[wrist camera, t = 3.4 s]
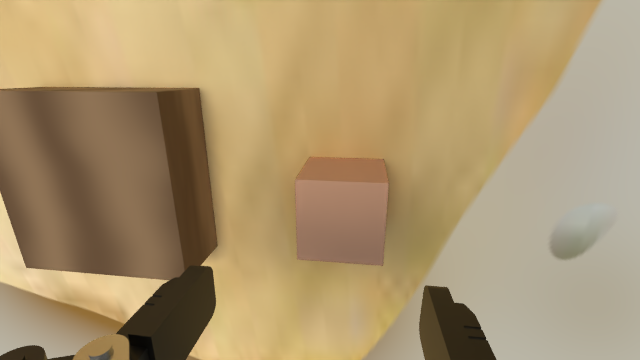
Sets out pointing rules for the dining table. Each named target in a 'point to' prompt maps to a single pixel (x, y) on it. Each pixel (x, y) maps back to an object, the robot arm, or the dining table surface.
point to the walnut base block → (107, 179)
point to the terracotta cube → (341, 210)
